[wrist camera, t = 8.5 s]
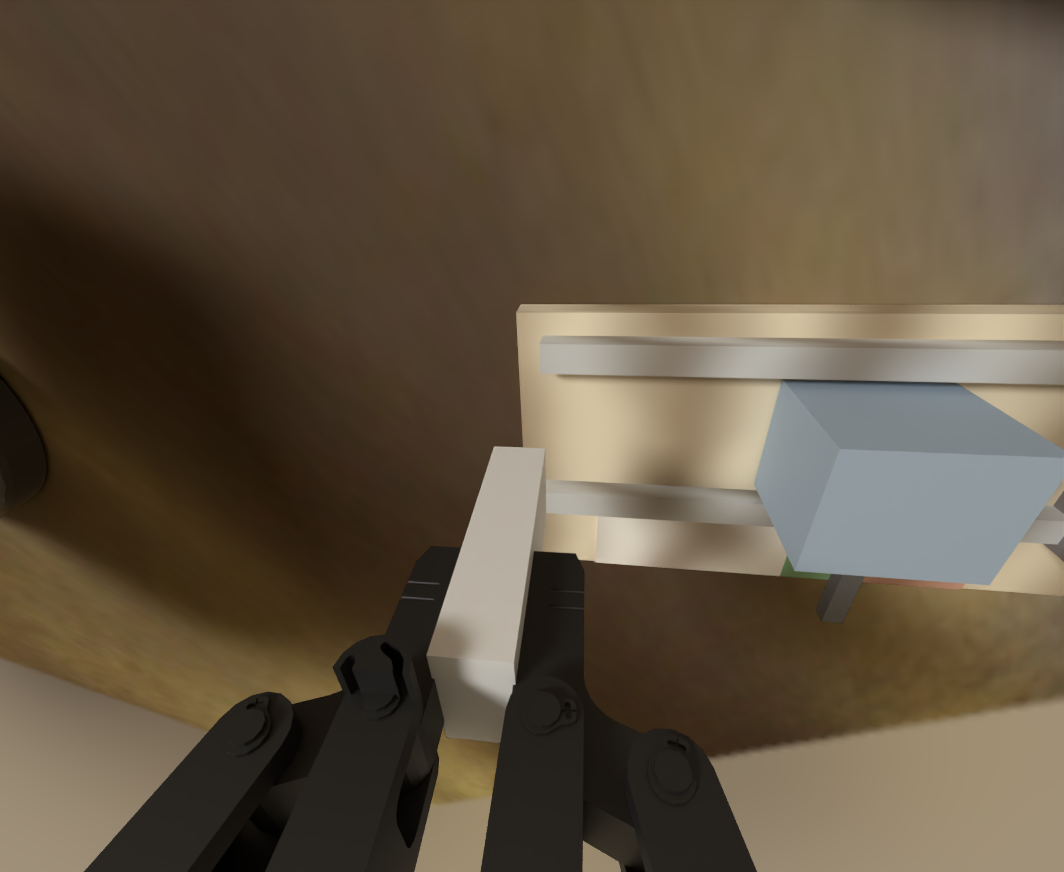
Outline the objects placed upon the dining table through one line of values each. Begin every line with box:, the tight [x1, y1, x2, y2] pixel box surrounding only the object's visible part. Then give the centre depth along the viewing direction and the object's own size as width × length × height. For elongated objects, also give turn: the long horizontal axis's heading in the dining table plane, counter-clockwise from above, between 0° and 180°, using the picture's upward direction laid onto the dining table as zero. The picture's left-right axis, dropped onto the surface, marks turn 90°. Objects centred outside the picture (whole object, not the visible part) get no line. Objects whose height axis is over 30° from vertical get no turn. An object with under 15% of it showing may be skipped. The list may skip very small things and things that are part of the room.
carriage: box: [754, 379, 1064, 623], centre depth 17 cm, size 6×9×5 cm, turn 2°
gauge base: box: [516, 304, 1064, 596], centre depth 17 cm, size 25×13×7 cm, turn 92°
